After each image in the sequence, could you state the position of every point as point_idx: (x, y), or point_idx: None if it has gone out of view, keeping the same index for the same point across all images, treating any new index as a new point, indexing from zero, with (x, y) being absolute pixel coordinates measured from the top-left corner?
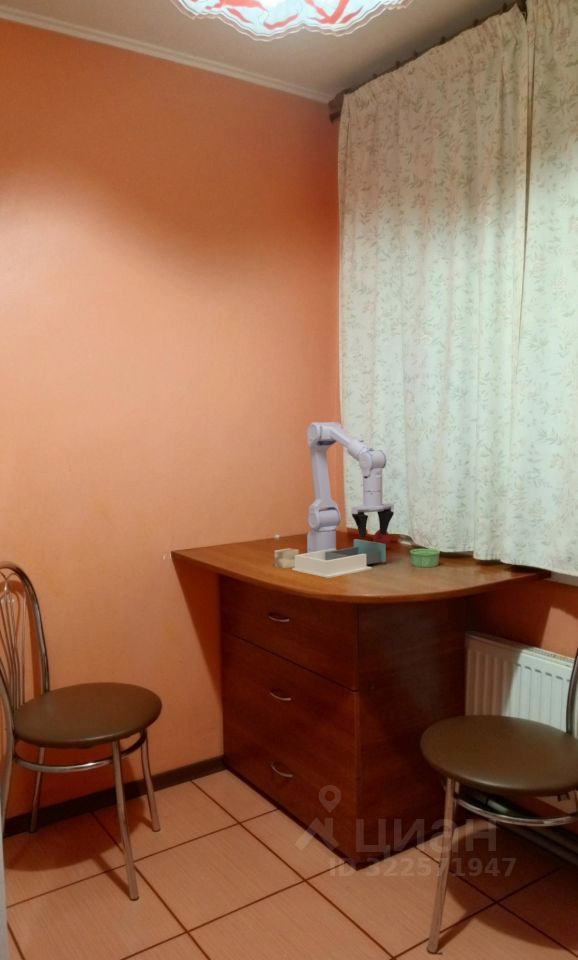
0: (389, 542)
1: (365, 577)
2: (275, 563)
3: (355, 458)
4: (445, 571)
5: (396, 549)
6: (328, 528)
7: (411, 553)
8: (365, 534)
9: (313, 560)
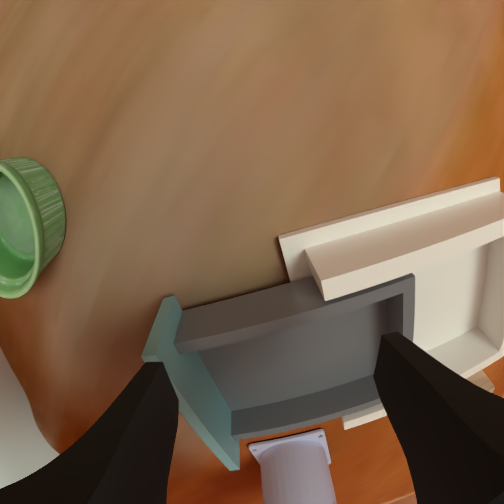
0: None
1: (398, 98)
2: None
3: None
4: (20, 64)
5: (68, 430)
6: None
7: (41, 239)
8: (398, 345)
9: None
